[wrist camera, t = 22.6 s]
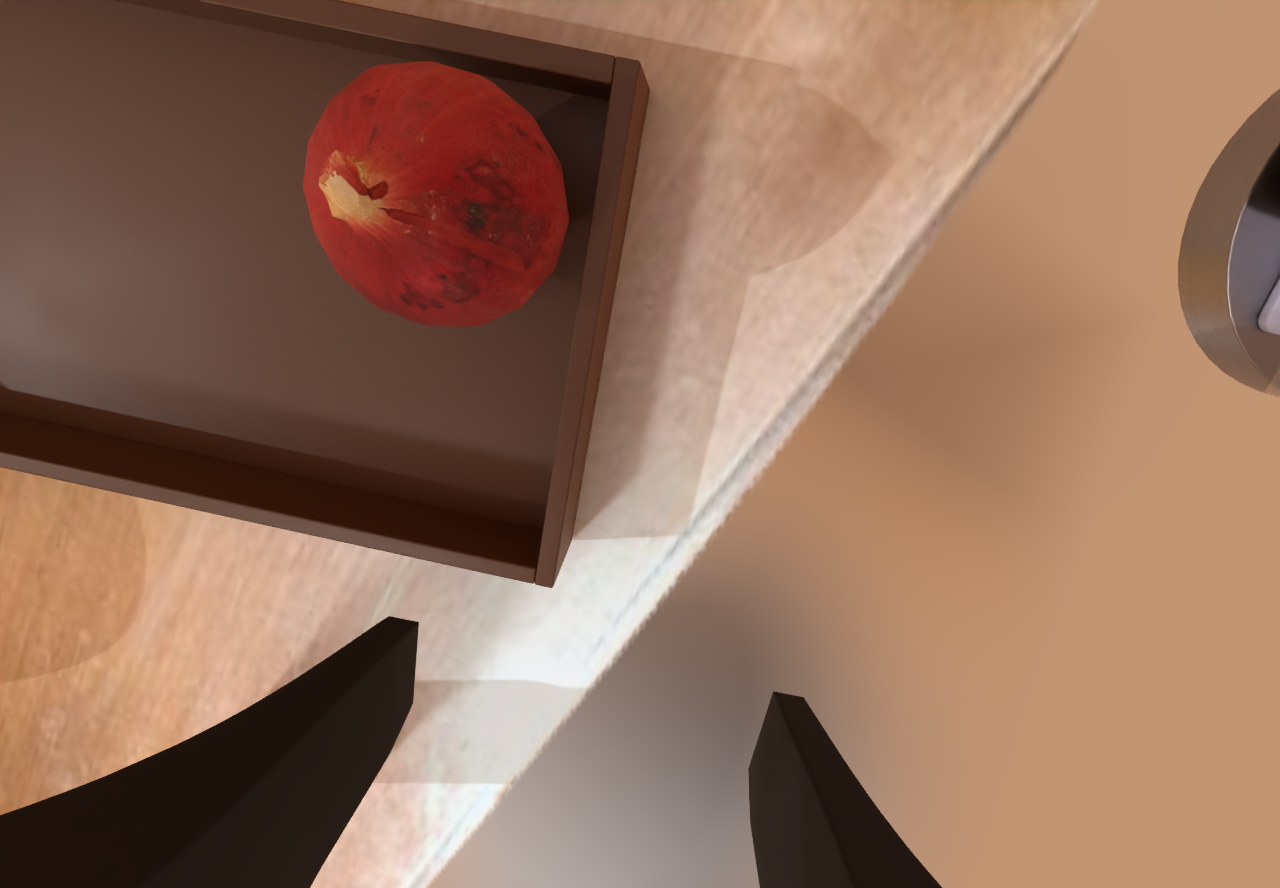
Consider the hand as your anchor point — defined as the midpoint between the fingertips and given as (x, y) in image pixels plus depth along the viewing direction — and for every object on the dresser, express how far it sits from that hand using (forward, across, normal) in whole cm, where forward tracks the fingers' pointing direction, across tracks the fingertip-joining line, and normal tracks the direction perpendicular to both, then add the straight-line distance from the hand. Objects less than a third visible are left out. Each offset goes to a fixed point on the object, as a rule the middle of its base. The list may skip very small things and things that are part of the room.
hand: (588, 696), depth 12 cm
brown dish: (+10, +16, -5) cm, 20 cm away
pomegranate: (+10, +6, -8) cm, 14 cm away
